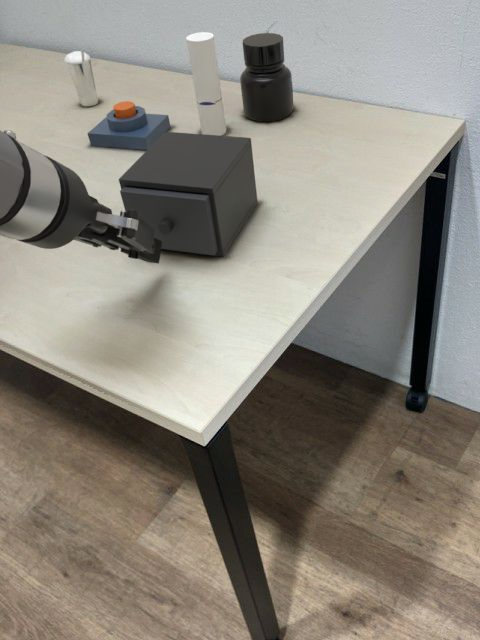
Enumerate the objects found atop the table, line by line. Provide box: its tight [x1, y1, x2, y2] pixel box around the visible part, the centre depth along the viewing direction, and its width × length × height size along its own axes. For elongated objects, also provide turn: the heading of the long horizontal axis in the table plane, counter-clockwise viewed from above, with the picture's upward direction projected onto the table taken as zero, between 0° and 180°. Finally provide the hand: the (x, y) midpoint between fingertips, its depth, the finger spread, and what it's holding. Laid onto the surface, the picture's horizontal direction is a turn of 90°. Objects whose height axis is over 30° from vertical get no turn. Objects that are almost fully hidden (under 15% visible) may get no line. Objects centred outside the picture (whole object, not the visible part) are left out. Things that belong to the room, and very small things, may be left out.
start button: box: [112, 100, 137, 119], centre depth 103 cm, size 4×4×2 cm
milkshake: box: [64, 50, 99, 107], centre depth 114 cm, size 5×5×10 cm
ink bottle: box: [239, 32, 294, 122], centre depth 105 cm, size 10×9×12 cm
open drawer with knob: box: [119, 187, 218, 257], centre depth 79 cm, size 14×11×8 cm
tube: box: [185, 31, 227, 136], centre depth 100 cm, size 4×4×15 cm
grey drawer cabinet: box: [118, 131, 259, 257], centre depth 81 cm, size 14×13×10 cm
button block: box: [87, 105, 171, 151], centre depth 105 cm, size 11×9×4 cm
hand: (154, 251), depth 74 cm, fingers closed
